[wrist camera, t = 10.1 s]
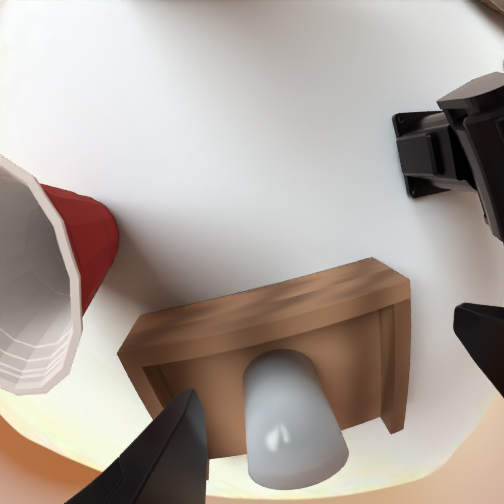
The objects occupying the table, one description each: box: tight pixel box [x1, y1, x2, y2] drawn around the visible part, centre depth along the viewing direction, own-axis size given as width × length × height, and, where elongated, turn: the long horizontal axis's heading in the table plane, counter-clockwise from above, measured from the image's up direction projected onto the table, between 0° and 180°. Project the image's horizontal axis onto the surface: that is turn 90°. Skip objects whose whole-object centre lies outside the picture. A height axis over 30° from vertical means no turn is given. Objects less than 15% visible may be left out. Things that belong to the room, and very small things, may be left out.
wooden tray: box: [117, 257, 411, 480], centre depth 20 cm, size 18×14×6 cm
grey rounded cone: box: [243, 349, 349, 490], centre depth 16 cm, size 5×5×8 cm
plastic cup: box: [0, 154, 119, 395], centre depth 14 cm, size 11×11×12 cm
